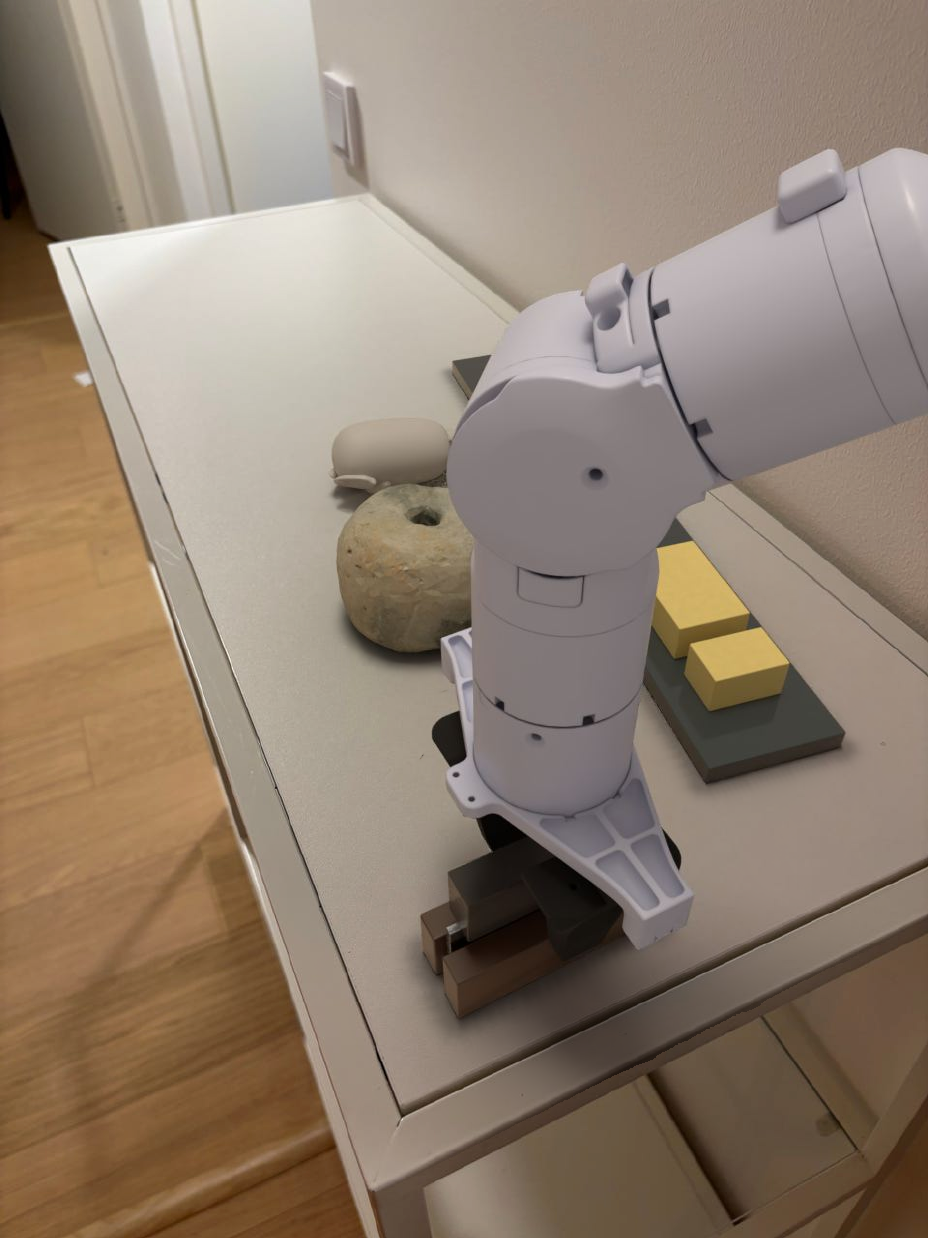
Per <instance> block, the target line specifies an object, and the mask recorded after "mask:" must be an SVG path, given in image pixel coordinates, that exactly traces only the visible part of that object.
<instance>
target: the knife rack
mask: <svg viewBox="0 0 928 1238" xmlns="http://www.w3.org/2000/svg"><path fill="white" fill-rule="evenodd" d="M419 918H420V919H419V920H420V930H421V942H422V943H421V944H422V951H423V953H424V955H425V957H426V959H427V961H428V963H429V964H430V967H431V969H432V970H433V972H434V974H435V975H438V974H441V973H442V974H443V989H444V990H443V991H444V994H445V995H446V997H447V999H448V1001H449V1003H450V1005H451V1007H452V1009H453V1011H454V1013H455V1015H456V1016H457V1018H458V1019H460V1018H462V1017H465V1016H466V1015H468V1014H470V1013H472V1012H474V1011H476V1010H478V1009H480V1008H483V1007H484V1006H486V1005H488V1004H490V1003H493V1002H494V1001H496V1000H498V999H500V998H502V997H504V996H506V995H508V994H510V993H511V992H512V993H513V992H514V991H516V990H518V989H519V988H522V987H524V986H525V985H528V984H529V983H532V982H534V981H535V980H537V979H539V978H542V977H543V976H545V975H547V974H549V973H551V972H553V971H555V970H558V969H559V968H561V967H563V966H566V965H567V964H569V963H571V962H574V961H575V960H577V959H579V958H581V957H583V956H585V955H587V954H589V953H591V952H593V951H595V950H597V949H599V948H601V947H602V946H605V945H606V944H609V943H610V942H613V941H615V940H617V939H618V938H621V937H622V936H624V935H626V933H625V932H624V930H623V927H622V925H623V918H624V912H623V913H622V914H621V916H620V917H619V918H618V919H617V920H616V922H615V923H614V925H613V926H612V927H611V929H610V930H609V932H608V934H607V935H606V937H605V938H604V940H603V942H602V943H601V944H599V945H597V946H595V947H593V948H591V949H589V950H587V951H585V952H583V953H581V954H579V955H577V956H575V957H573V958H571V959H569V960H567V961H565V962H564V961H561V960H560V959H559V957H558V955H557V954H556V952H555V951H554V949H553V947H552V946H551V944H550V941H549V938H548V932H547V921H546V916H545V914H544V913H543V912H542V910H539V911H537V912H535V913H533V914H531V915H529V916H527V917H525V918H523V919H521V920H518V921H516V922H514V923H512V924H510V925H508V926H506V927H504V928H502V929H500V930H498V931H496V932H493V933H491V934H489V935H487V936H485V937H483V938H481V939H479V940H477V941H475V942H473V943H471V944H468V945H466V946H464V947H462V948H460V949H458V950H456V951H454V952H452V953H450V954H448V955H447V936H446V927H448V926H450V925H452V924H454V923H457V921H456V919H455V918H454V916H453V914H452V912H451V911H450V906H449V901H447V902H445V903H442V904H440V905H438V906H436V907H434V908H432V909H429V910H428V911H427V910H426V911H425V912H423V913H421V914H420V915H419Z"/></svg>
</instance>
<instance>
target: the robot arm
mask: <svg viewBox="0 0 928 1238" xmlns="http://www.w3.org/2000/svg"><path fill="white" fill-rule="evenodd" d="M777 184H778V185H777V204H778V205H776V206H774V207H771V208H770V209H767V210H765V211H764V212H762V213H761V212H760V213H759V214H757V215H755V216H753V217H752V218H749V219H747V220H745V221H743V222H741V223H739V224H737V225H735V226H733V227H731V228H729V229H727V230H725V231H723V232H720V233H719V234H717V235H715V236H713V237H711V238H709V239H707V240H704V241H702V242H701V243H699V244H696V245H694V246H693V247H691V248H689V249H686V250H684V251H683V252H681V253H679V254H676V255H674V256H673V257H671V258H669V259H667V260H664V261H663V262H661V263H658V264H657V265H654V266H652V267H650V268H648V269H646V270H644V271H642V272H640V273H638V274H637V275H635V276H634V274H633V273H632V270H631V269H630V266H628V264H627V263H625V262H620V263H618V264H617V265H615V266H612V267H610V268H608V269H606V270H605V271H602V272H600V273H599V274H596V275H594V276H593V277H592V279H590V281H589V284H588V286H587V289H586V293H585V294H584V289H573V290H567V291H563V292H556V293H554V294H551V295H548V296H546V297H543V298H540V299H538V300H537V301H536V302H534V303H532V304H531V305H529V306H527V307H526V308H524V309H523V310H522V311H521V312H520V313H518V314H517V315H516V316H515V317H513V319H512V320H511V321H510V323H509V324H508V325H507V326H506V327H505V328H504V331H503V332H502V335H501V336H500V338H499V339H498V341H497V342H496V345H495V347H494V349H493V351H492V352H491V354H492V355H491V354H490V355H491V357H490V359H489V361H488V363H487V365H486V367H485V369H484V372H483V374H482V376H481V378H480V380H479V382H478V384H477V386H476V388H475V390H474V392H473V394H472V396H471V398H470V400H469V399H468V401H467V404H466V406H465V408H464V410H463V412H462V414H461V417H460V419H459V421H458V422H457V425H456V426H455V433H454V436H453V440H452V444H451V448H450V451H449V455H448V460H447V468H446V470H445V472H446V473H445V474H446V483H447V489H448V491H449V495H450V498H451V501H452V504H453V506H454V508H455V510H456V512H457V514H458V516H459V518H460V519H461V521H462V522H463V524H464V525H465V527H466V528H467V529H468V530H469V532H470V533H471V534H472V535H473V536H474V548H473V552H472V556H471V618H472V627H471V628H468V629H465V630H462V631H460V632H457V633H454V634H451V635H449V636H446V637H443V638H441V648H440V656H441V672H442V673H443V675H444V676H445V678H446V679H447V680H448V682H450V684H453V685H454V687H455V692H456V693H455V694H456V698H457V705H458V710H456V711H454V712H450V713H449V714H446V715H444V716H442V717H440V718H439V719H438V720H437V721H435V722H434V724H433V725H432V728H431V729H432V730H431V740H432V741H433V743H434V745H435V746H436V748H437V749H438V751H439V753H440V754H441V755H442V757H443V759H444V760H445V762H446V763H447V765H448V767H449V768H447V770H446V772H445V775H444V776H445V780H444V781H445V788H446V791H447V793H448V795H449V796H450V797H451V800H452V801H453V802H454V804H455V806H456V807H457V809H458V810H459V812H460V813H461V814H462V815H463V817H465V818H468V819H472V820H474V819H475V821H476V823H477V826H478V829H479V831H480V833H481V836H482V838H483V840H484V841H485V843H486V845H487V846H488V848H490V850H491V851H490V852H493V851H495V850H497V849H499V848H502V847H504V846H506V845H508V844H511V843H513V842H515V841H517V840H519V839H522V838H524V837H526V836H529V837H531V838H532V839H533V840H535V841H536V842H537V843H539V844H540V845H542V846H543V847H544V848H546V849H547V850H548V851H550V852H551V853H552V854H554V855H555V857H553V858H550V859H548V860H546V861H544V862H542V863H540V864H537V865H535V866H533V867H531V868H529V869H527V870H524V871H523V872H522V873H521V879H522V880H523V882H524V884H525V885H526V887H527V888H528V890H529V891H530V893H531V894H532V896H533V898H534V899H535V901H536V902H537V904H538V905H539V907H540V908H541V910H542V912H543V913H544V914H545V916H546V921H547V932H548V938H549V941H550V944H551V946H552V947H553V949H554V951H555V952H556V954H557V955H558V957H559V959H560V960H561V961H564V962H565V961H567V960H569V959H571V958H573V957H575V956H577V955H579V954H581V953H583V952H585V951H587V950H589V949H591V948H593V947H595V946H597V945H599V944H601V943H602V942H603V940H604V938H605V937H606V935H607V934H608V932H609V930H610V929H611V927H612V926H613V925H614V923H615V922H616V920H617V919H618V918H619V917H620V916H621V914H622V913H623V912H624V918H623V925H622V927H623V930H624V932H625V933H626V934H625V935H626V936H627V938H628V940H630V942H631V944H632V945H633V946H634V948H635V949H636V950H638V951H639V950H642V949H644V948H646V947H648V946H649V945H651V944H653V943H656V942H659V941H660V940H662V939H664V938H667V937H668V936H671V935H672V934H673V933H675V932H677V931H679V930H681V929H683V928H685V927H686V926H687V924H688V921H689V917H690V913H691V910H692V905H693V902H694V898H695V892H694V890H692V888H691V887H690V886H689V884H688V882H687V881H686V879H685V878H684V877H683V876H682V873H681V872H680V870H681V866H682V855H681V852H680V849H679V847H678V845H677V844H676V843H675V842H674V840H673V839H672V838H671V837H670V836H669V834H668V833H667V832H666V830H665V829H664V828H663V827H662V824H661V822H660V818H659V815H658V812H657V810H656V806H655V803H654V800H653V797H652V794H651V791H650V788H649V785H648V782H647V778H646V776H645V772H644V769H643V767H642V764H641V760H640V757H639V755H638V751H637V749H636V746H635V743H634V741H635V733H636V728H637V721H638V714H639V708H640V702H641V696H642V691H643V690H642V689H643V684H644V682H643V677H644V669H645V663H646V657H647V650H648V644H649V637H650V631H651V625H652V618H653V612H654V605H655V599H656V593H657V586H658V580H659V558H658V553H657V549H656V547H657V546H658V545H659V543H660V542H661V541H662V540H663V538H664V537H665V535H666V533H667V532H668V530H669V528H670V526H671V524H672V522H673V520H674V519H675V517H676V518H677V517H678V515H679V514H680V513H682V511H684V510H685V509H687V508H689V507H691V506H693V505H696V504H699V503H702V502H705V500H706V498H707V497H706V496H707V492H710V491H713V490H716V489H718V488H721V487H724V486H728V485H730V484H733V483H735V482H738V481H741V480H744V479H747V478H751V477H752V476H753V477H754V476H757V475H759V474H761V473H765V472H767V471H770V470H773V469H776V468H778V467H781V466H784V465H788V464H790V463H793V462H796V461H799V460H801V459H802V460H803V459H804V458H807V457H810V456H813V455H816V454H818V453H821V452H824V451H827V450H830V449H833V448H835V447H839V446H841V445H845V444H848V443H850V442H852V441H855V440H859V439H861V438H864V437H866V436H869V435H873V434H875V433H877V432H881V431H884V430H886V429H890V428H893V427H895V426H898V425H900V424H903V423H906V422H909V421H912V420H915V419H917V418H920V417H922V416H926V415H928V154H927V153H923V152H921V151H918V150H914V149H910V148H904V147H894V148H891V149H889V150H887V151H885V152H883V153H881V154H879V155H877V156H875V157H873V158H871V159H869V160H868V161H865V162H864V163H862V164H860V165H859V166H858V165H856V166H854V167H853V168H850V169H848V170H846V171H845V169H844V167H843V163H842V162H841V158H840V156H839V153H838V152H837V150H835V149H832V148H827V149H825V150H822V151H821V152H819V153H817V154H815V155H812V156H811V157H809V158H807V159H805V160H803V161H801V162H800V163H797V164H795V165H793V166H791V167H789V168H788V169H786V170H784V171H782V172H781V173H780V174H779V177H778V180H777Z"/></svg>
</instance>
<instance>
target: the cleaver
mask: <svg viewBox="0 0 928 1238" xmlns="http://www.w3.org/2000/svg"><path fill="white" fill-rule="evenodd" d="M553 857H555V855H554V854H552V853H551V852H550V851H548V850H547V849H546V848H544V847H543V846H542V845H540V844H539V843H537V842H536V841H535V840H533V839H532V838H531V837H529V836H526V837H524V838H522V839H519V840H517V841H515V842H513V843H511V844H508V845H506V846H504V847H502V848H499V849H497V850H495V851H493V852H492V851H490V852H488V853H486V854H484V855H481V856H479V857H476V858H475V859H473V860H470V861H468V862H466V863H463V864H461V865H460V866H458V867H455V868H452V869H451V870H449V871H447V881H448V882H447V883H448V902H449V906H450V911H451V912H452V914H453V916H454V918H455V919H456V921H457V923H454V924H452V925H450V926H448V927H446V936H447V955H448V954H450V953H452V952H454V951H456V950H458V949H460V948H462V947H464V946H466V945H468V944H471V943H473V942H475V941H477V940H479V939H481V938H483V937H485V936H487V935H489V934H491V933H493V932H496V931H498V930H500V929H502V928H504V927H506V926H508V925H510V924H512V923H514V922H516V921H518V920H521V919H523V918H525V917H527V916H529V915H531V914H533V913H535V912H537V911H539V910H541V908H540V907H539V905H538V904H537V902H536V901H535V899H534V898H533V896H532V894H531V893H530V891H529V890H528V888H527V887H526V885H525V884H524V882H523V880H522V879H521V873H522V872H523V871H524V870H527V869H529V868H531V867H533V866H535V865H537V864H540V863H542V862H544V861H546V860H548V859H550V858H553Z"/></svg>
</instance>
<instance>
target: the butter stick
mask: <svg viewBox="0 0 928 1238" xmlns="http://www.w3.org/2000/svg"><path fill="white" fill-rule="evenodd" d="M694 541H695V540H694ZM694 541H689V542H684V543H680V544H675V545H670V546H666V547H661V548H656V549H657V553H658V558H659V580H658V586H657V593H656V599H655V605H654V612H653V618H652V627H653V628H654V630H655V631H656V633H657V634H658V636H659V637H660V639H661V640H662V642H663V643H664V645H665V646H666V648H667V649H668V651H669V652H670V654H671V655H672V657H673V658H674V659H677V658H681V657H685V656H688V652H689V647H690V644H692V643H696V642H700V641H704V640H709V639H713V638H717V637H721V636H726V635H730V634H734V633H738V632H743V631H746V627H747V623H748V619H749V615H750V612H751V611H750V610H749V611H750V612H749V611H748V610H747V608H748V607H747V606H746V607H747V608H746V607H745V606H744V604H745V603H744V602H743V601H742V602H743V603H744V604H743V603H742V602H741V601H740V599H741V598H740V597H739V596H738V597H739V598H740V599H739V598H738V597H737V596H736V594H737V593H736V592H735V591H734V592H735V593H736V594H735V593H734V592H733V591H732V589H733V588H732V587H731V588H732V589H731V588H730V587H729V585H730V584H729V583H728V582H727V583H728V584H729V585H728V584H727V583H726V582H725V580H726V579H725V578H724V577H723V578H724V579H725V580H724V579H723V578H722V577H721V575H722V574H721V573H720V572H719V573H720V574H721V575H720V574H719V573H718V572H717V570H718V569H717V568H716V569H717V570H716V569H715V568H714V566H715V565H714V564H713V563H712V564H713V565H714V566H713V565H712V564H711V563H710V561H711V560H710V559H709V558H708V559H709V560H710V561H709V560H708V559H707V558H706V556H707V555H706V554H705V553H704V554H705V555H706V556H705V555H704V554H703V553H702V551H703V550H702V549H701V548H700V549H701V550H702V551H701V550H700V549H699V547H700V546H699V545H698V544H697V545H698V546H699V547H698V546H697V545H696V544H695V542H696V541H695V542H694Z"/></svg>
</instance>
